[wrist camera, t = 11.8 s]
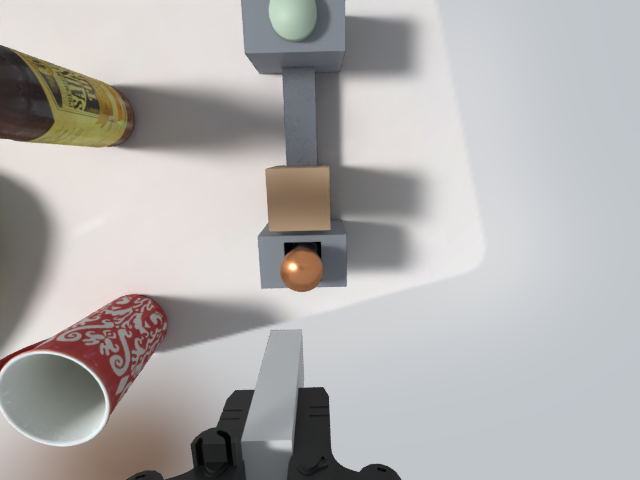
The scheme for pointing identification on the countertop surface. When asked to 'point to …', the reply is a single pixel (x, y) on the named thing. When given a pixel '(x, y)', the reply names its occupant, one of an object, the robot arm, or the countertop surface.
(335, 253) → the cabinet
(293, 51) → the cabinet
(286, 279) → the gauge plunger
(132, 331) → the mug
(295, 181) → the carriage
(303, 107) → the rail
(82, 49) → the countertop surface
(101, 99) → the sauce bottle
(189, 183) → the countertop surface
